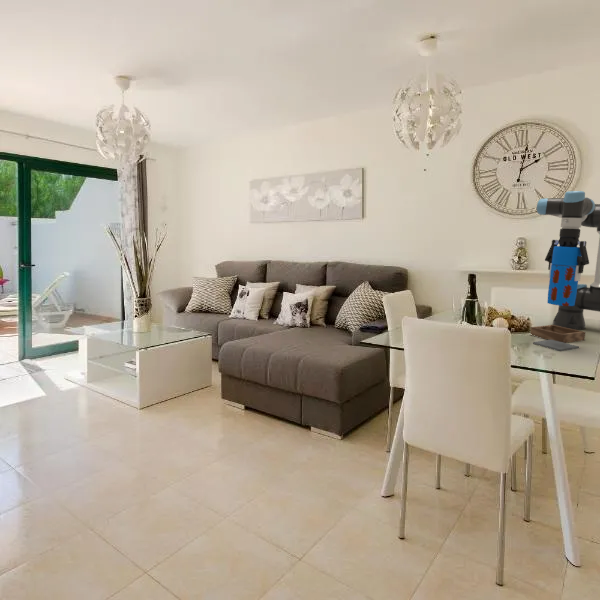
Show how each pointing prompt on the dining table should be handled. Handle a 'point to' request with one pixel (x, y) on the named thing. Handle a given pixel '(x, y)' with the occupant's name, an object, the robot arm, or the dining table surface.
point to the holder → (558, 333)
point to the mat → (556, 345)
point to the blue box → (563, 276)
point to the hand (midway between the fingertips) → (563, 279)
